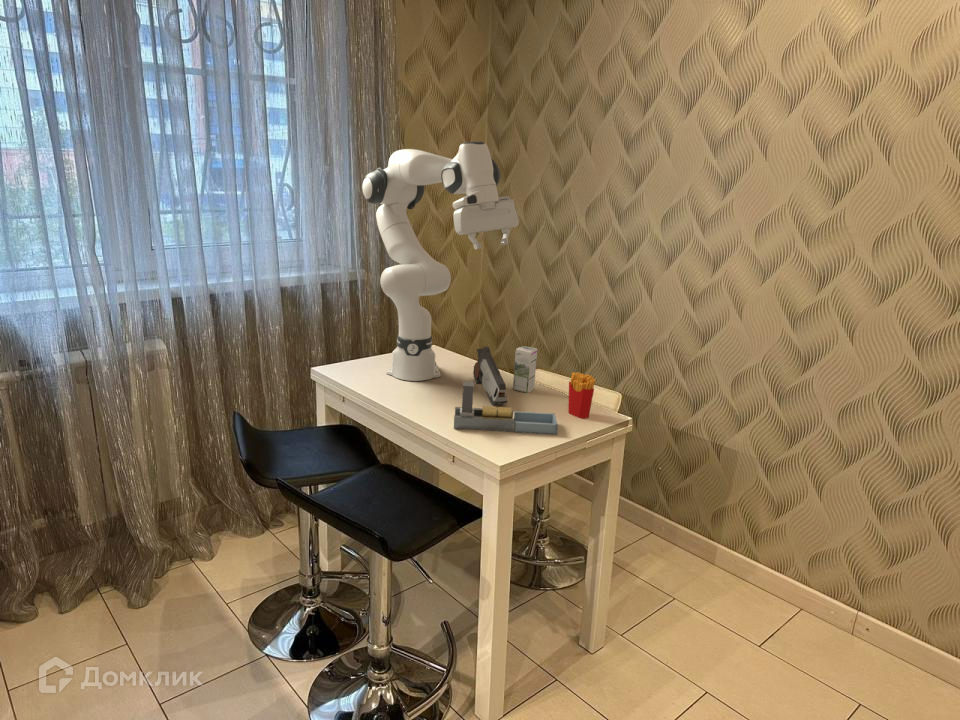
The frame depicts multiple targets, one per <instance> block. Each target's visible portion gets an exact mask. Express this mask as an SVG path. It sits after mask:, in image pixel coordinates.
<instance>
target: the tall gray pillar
mask: <svg viewBox="0 0 960 720" xmlns="http://www.w3.org/2000/svg"><path fill="white" fill-rule="evenodd" d="M474 382H475V381H474ZM474 382H472V381H471V382H470V381H463V383H462V397H461V399H462V400H461V407H462V408H460V416H474V408H475V407H473V404H474V403H473V402H474V388H475V387H474V386H475V383H474Z"/></svg>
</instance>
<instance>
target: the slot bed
mask: <svg viewBox="0 0 960 720" xmlns="http://www.w3.org/2000/svg"><path fill="white" fill-rule="evenodd" d="M460 408H462V406H455V407H454V417H453V418H454V419H453V430H471V431H472V430H473V431H489V432H508V433H514V430H515V427H514V410H513V409H511V410H512V416H511V418H497V416H496V418H494V417H482V411H483V407H473V408H474V416H460Z"/></svg>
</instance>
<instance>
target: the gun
mask: <svg viewBox="0 0 960 720" xmlns="http://www.w3.org/2000/svg"><path fill="white" fill-rule="evenodd" d="M476 351H477V352H476V353H477V361H476V362H475V363H474V365H473V372H472V373H473V374H472V375H473V379H474V382H475V384H476V385H477V384H478V385H482V386H483V388H484V391H485V393H486V394H487V398H488V399H489V403H490V404H491V405H504V404H507V403H508V399H507V398H508V397H507V394H506V393H507V386H506V383H505V381H504V379H503V376H502V374H501V372H500V369H499V368H498V365H497V363H496V361H495V359H494V358H493V354H492V353H491V349H490V346H483V348H477V349H476Z"/></svg>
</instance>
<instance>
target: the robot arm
mask: <svg viewBox="0 0 960 720" xmlns="http://www.w3.org/2000/svg"><path fill="white" fill-rule="evenodd" d="M501 177H502V176H501V170H500V167H499V165H498V164H497V162H496V161H495V160H494V159H493V158H492V156H491V152H490V149H489V147H488V144H487V143H486V142H484V141H467V142H463V143H461V144H460V145H459V147H458V152H457V153H456V155H455V156H454V157H453V158H450V157H445V156H443V155H442V156H441V155H440V154H435V153H431V152H427V151H425V150H420V149H414V148H404V149H398V150H395V151H394V152H393V153H392V154H391V155H390V157H389V159H388V165H387V167H386V168H384V169H383V168H382V167H377V168H376V169H375V170H373V171H371V172H369V173H367V174H366V175H365V176H364V178H363V179H362V183H361V192H362V195H363V198H364V199H365V201H366V202H367V203H369V204H373V205H377V206H378V205H380V206H379V207H378V208H377V210H376V212H375V217H376V225H377V228H378V231H379V235H380V237H381V240H382V241H383V244H384V248H385V249H386V250H385V251H386V252H387V255H388V256H389V258H390V259H391V260H392V261H394V262H396V263H398V264H396V265H393V266H390V267H386V268H385V269H384V270H383V271H382V273H381V275H380V280H379V281H380V282H379V283H380V287H381V290H382V292H383V293H384V294H385V295H386V296H387V297H388V298H389V299H391V300H392V302H393V304H394V305H395V308H396V310H397V316H398V317H397V318H398V334H397V338H396V347H395V348H394V350H393V351H392V352H391V354H392V355H391V367H389V368H388V369H387V370H386V375H390V376H393V377H394V378H396V379H398V380H402V381H410V382H412V381H413V382H418V381H421V382H423V381H428V380H431V379H434V378H435V379H436V378H441V372H440V369H439V367H438V365H437V362H436V353H435V351H434V350H433V349H432V346H433V344H432V343H433V337H432V315H431V313H430V311H429V310H428V309H426V308H425V307H423V306H421V304H420V297H427V296H435V295H438V294H441V293H444V292H446V291H447V290H448V289H449V288H450V285H451V281H452V276H451V271H450V270H449V268H448V267H447V266H446V265H445V264H443V263H441V262H439V261H438V260H436V259H434V258H433V257H432V256H431V255H429V253H428V252H427V251H426V250H425V248H423V246H422V245H421V243H420V242H419V240H418V238H417V235H416V233H415V230H414V229H413V226H412V224H411V222H410V220H409V218H408V215H407V209H408V210H412V209H414V208H415V207H416V205H417V204H419V202H420V201H421V200H422V198H423V196H424V194H425V190H426V189H425V188H426V187H425V186H429V185H434V184H435V185H436V184H440V183H442V185H443V188H444V189H445V191H446V192H448V193H449V194H451V195H462V194H465V195H463V196H462V197H461V198H459V199H457V200H455V201H453V202H452V208H453V209H454V212H453V226H454V231H455V233H456V234H457V235H458V236H462V235H467V237H468V240H469V241H470V242H471V243H472V245H473V249H474V250H480V249H482V242H481V241H478V239H477V238H476V237H477V234H478V233H484V232H485V233H486V232H491V231H499V230H501V233H502V238H500V245H501V246H506V245H509V236H510V233H511V231H510V230H511V229H512V228H515V227H518V225H519V224H520V221H519V216H518V212H517V209H516V206H515V201H514V199H513V198H512V197H510V196H509V195H504V196H499V192H498V188H497V187H498V185H499V183H500V181H501Z"/></svg>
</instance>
